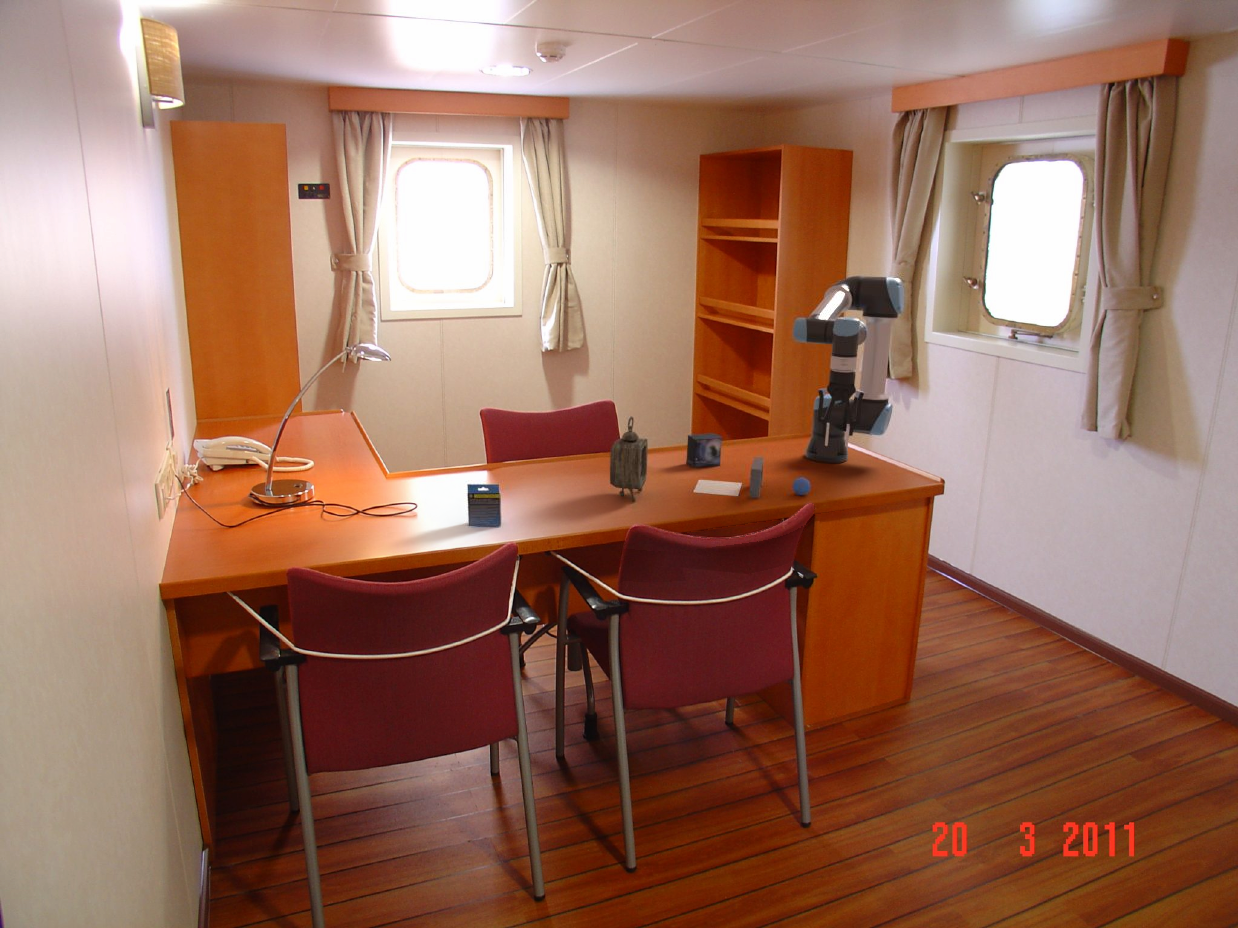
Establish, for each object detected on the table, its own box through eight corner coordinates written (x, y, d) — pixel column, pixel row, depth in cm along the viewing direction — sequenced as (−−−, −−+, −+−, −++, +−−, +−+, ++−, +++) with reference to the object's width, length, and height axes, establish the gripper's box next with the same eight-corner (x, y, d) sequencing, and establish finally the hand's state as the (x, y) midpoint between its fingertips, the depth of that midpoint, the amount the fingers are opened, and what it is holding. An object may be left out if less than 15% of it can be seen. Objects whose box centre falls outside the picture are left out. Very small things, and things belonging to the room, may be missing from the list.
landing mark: (699, 480, 293) (699, 479, 293) (741, 483, 290) (741, 482, 290) (693, 492, 280) (693, 491, 280) (737, 496, 277) (738, 495, 277)
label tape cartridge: (501, 522, 250) (501, 480, 247) (500, 527, 246) (499, 484, 243) (469, 522, 250) (468, 480, 246) (468, 526, 246) (466, 484, 243)
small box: (693, 468, 306) (695, 439, 303) (685, 463, 312) (686, 434, 309) (721, 466, 310) (722, 436, 307) (712, 461, 316) (713, 432, 313)
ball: (792, 491, 283) (793, 474, 281) (809, 492, 282) (811, 476, 280) (791, 496, 278) (792, 479, 276) (809, 498, 276) (810, 481, 275)
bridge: (749, 497, 276) (750, 468, 273) (752, 484, 290) (754, 456, 287) (759, 498, 275) (760, 469, 273) (762, 484, 289) (763, 457, 286)
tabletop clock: (638, 504, 267) (640, 423, 261) (608, 502, 269) (609, 421, 262) (646, 490, 281) (648, 412, 274) (618, 488, 283) (619, 411, 276)
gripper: (811, 370, 265) (805, 446, 271) (875, 373, 261) (867, 450, 268) (811, 366, 272) (806, 440, 279) (873, 369, 269) (866, 444, 275)
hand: (836, 445), depth 273 cm, fingers open, 5 cm apart
